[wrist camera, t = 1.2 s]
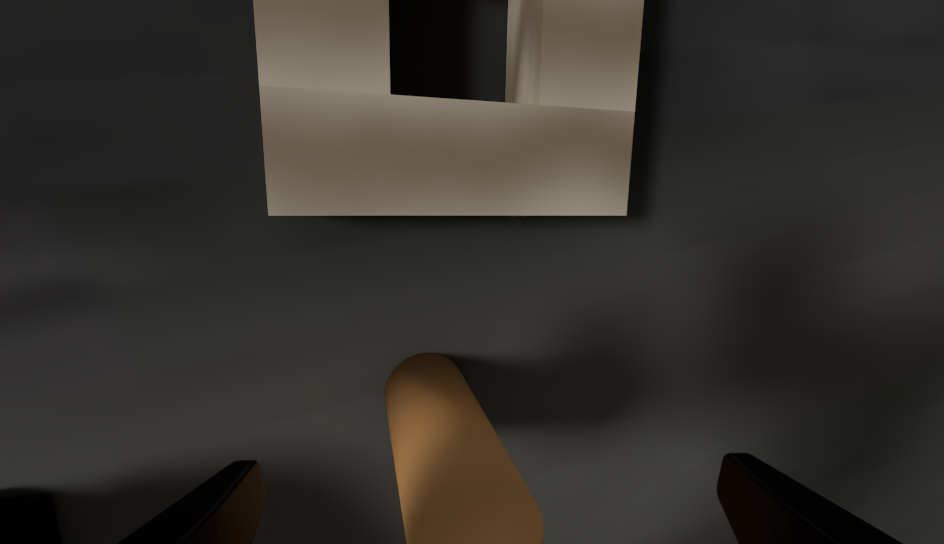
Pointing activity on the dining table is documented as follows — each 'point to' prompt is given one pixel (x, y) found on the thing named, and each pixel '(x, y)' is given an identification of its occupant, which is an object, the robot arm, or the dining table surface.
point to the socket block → (447, 115)
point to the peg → (453, 462)
